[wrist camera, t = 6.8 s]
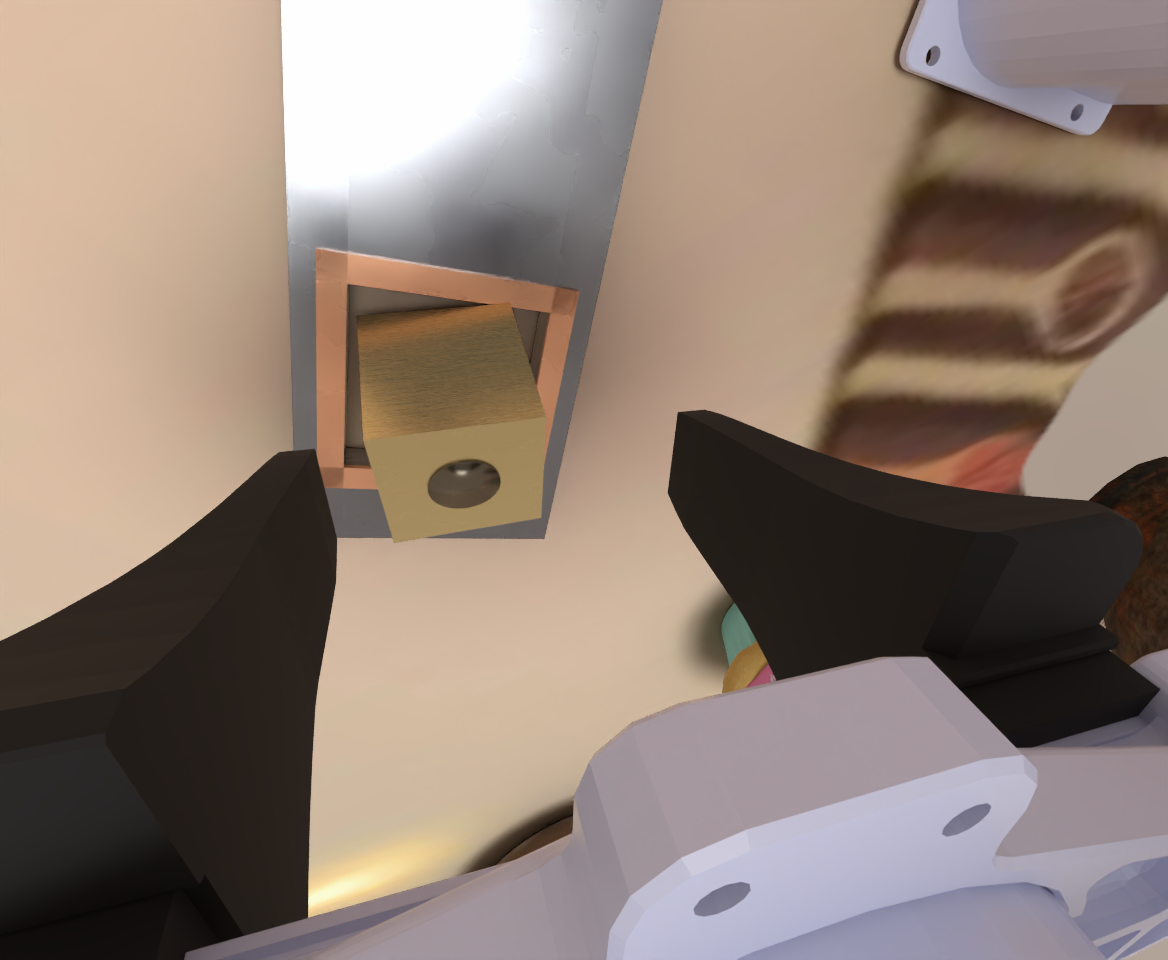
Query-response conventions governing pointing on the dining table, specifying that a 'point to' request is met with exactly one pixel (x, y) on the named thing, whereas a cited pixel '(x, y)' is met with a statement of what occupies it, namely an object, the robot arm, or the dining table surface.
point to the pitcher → (1142, 560)
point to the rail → (451, 190)
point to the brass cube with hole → (451, 419)
